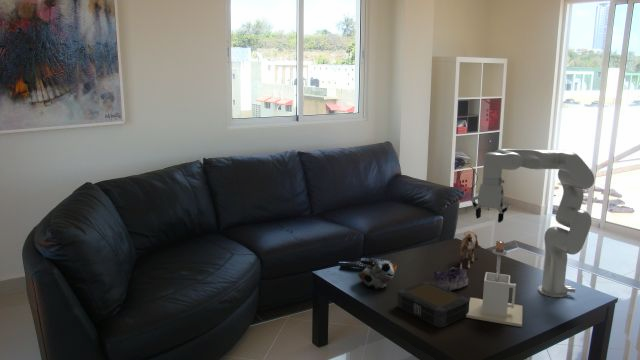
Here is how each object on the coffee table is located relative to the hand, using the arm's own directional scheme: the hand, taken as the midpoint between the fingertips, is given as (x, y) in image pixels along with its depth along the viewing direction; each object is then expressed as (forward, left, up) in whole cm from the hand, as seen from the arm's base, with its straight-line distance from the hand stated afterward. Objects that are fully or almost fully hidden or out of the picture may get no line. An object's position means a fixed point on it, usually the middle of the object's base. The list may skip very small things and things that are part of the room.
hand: (489, 219), depth 220 cm
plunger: (-5, +9, -27) cm, 29 cm away
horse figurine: (+9, -45, -39) cm, 60 cm away
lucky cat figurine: (+50, -2, -39) cm, 63 cm away
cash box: (+20, +17, -39) cm, 47 cm away
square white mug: (-5, +9, -39) cm, 40 cm away
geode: (+17, -11, -39) cm, 44 cm away
